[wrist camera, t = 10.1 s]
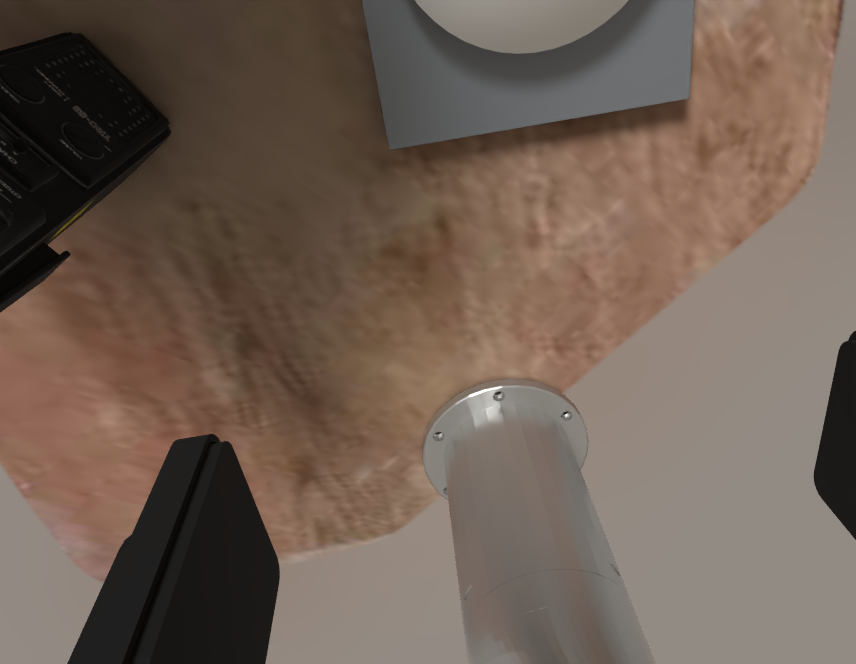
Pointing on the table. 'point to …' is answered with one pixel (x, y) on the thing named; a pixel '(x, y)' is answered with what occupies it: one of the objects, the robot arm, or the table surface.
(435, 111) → the stand
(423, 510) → the table surface
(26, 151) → the portable radio
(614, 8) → the white round dome
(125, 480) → the table surface
